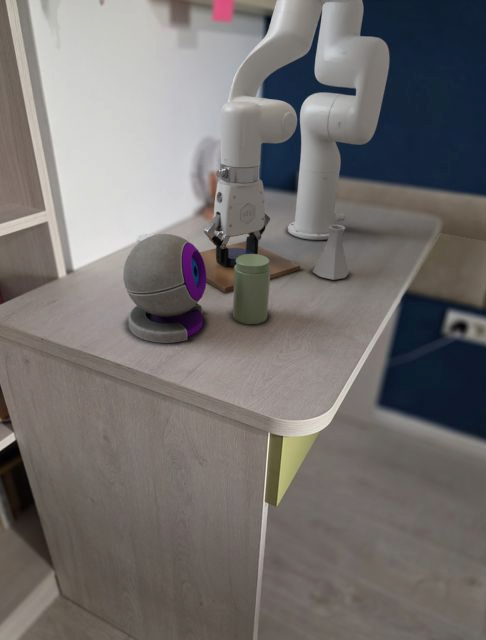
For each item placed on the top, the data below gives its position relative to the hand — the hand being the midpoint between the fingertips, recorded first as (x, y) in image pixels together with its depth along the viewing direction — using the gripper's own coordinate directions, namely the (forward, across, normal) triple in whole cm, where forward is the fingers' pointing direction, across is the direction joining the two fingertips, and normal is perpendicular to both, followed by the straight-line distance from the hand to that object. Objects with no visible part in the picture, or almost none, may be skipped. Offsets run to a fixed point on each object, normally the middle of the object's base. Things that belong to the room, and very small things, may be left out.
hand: (237, 260), depth 105 cm
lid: (-1, 0, 0) cm, 1 cm away
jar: (+1, -12, -19) cm, 23 cm away
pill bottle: (+2, -20, +1) cm, 20 cm away
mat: (+1, 0, 0) cm, 1 cm away
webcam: (+2, -25, -13) cm, 28 cm away
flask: (+2, +14, -14) cm, 20 cm away
